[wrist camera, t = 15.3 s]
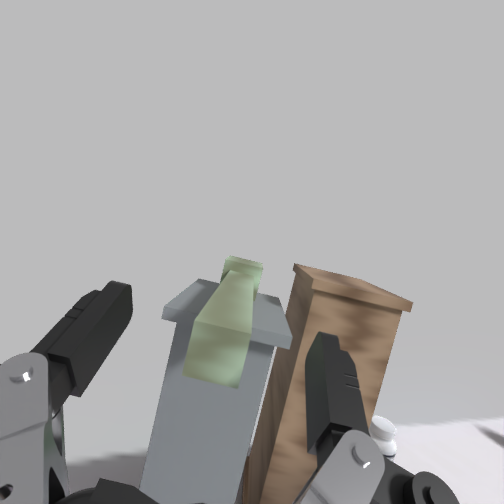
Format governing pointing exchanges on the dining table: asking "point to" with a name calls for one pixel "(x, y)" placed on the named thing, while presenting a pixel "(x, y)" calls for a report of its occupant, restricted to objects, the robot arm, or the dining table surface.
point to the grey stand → (208, 408)
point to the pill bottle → (383, 436)
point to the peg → (224, 326)
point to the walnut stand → (293, 374)
